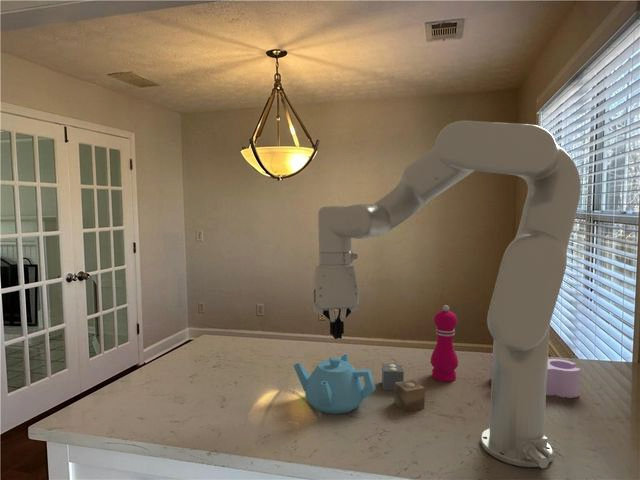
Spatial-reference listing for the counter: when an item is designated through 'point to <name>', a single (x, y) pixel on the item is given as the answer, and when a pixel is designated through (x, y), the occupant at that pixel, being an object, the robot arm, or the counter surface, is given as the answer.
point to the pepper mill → (444, 346)
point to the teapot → (335, 385)
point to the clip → (560, 378)
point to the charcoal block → (391, 375)
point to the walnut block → (409, 395)
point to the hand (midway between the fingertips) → (336, 337)
